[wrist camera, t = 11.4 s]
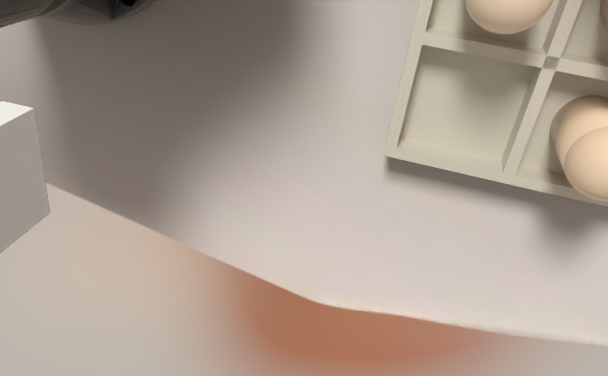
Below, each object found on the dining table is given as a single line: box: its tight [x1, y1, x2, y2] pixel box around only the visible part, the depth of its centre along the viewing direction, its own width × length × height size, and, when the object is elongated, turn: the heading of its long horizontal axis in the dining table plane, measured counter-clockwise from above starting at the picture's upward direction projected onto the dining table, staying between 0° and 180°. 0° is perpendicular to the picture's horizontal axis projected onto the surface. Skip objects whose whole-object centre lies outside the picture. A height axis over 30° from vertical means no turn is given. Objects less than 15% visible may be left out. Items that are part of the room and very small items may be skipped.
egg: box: [550, 95, 608, 202], centre depth 32 cm, size 5×5×8 cm
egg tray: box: [383, 0, 608, 207], centre depth 33 cm, size 17×17×2 cm
